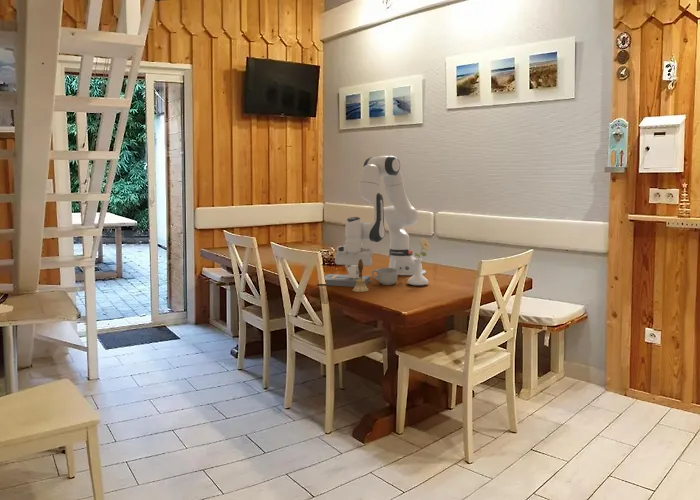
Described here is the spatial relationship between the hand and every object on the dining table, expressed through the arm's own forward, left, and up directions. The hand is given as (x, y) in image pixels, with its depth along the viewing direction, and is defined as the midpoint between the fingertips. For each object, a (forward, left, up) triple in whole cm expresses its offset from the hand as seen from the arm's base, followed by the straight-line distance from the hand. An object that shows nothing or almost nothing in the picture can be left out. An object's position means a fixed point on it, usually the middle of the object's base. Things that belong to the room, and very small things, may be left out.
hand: (353, 273), depth 328 cm
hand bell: (-9, +15, -6) cm, 18 cm away
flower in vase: (-34, -8, -6) cm, 35 cm away
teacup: (-16, -5, -6) cm, 18 cm away
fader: (0, 0, -2) cm, 2 cm away
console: (+5, 0, -6) cm, 8 cm away
